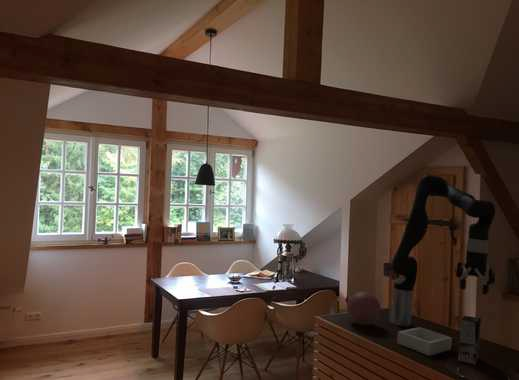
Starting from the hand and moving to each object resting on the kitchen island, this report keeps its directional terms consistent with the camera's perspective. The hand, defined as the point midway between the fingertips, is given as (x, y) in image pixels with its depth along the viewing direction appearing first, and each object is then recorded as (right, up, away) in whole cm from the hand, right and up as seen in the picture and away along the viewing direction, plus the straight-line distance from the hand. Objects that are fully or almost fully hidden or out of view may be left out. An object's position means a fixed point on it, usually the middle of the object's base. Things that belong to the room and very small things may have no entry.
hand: (473, 291), depth 175 cm
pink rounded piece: (-37, -24, +38) cm, 58 cm away
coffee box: (-2, -27, 0) cm, 27 cm away
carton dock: (-16, -26, +11) cm, 32 cm away
